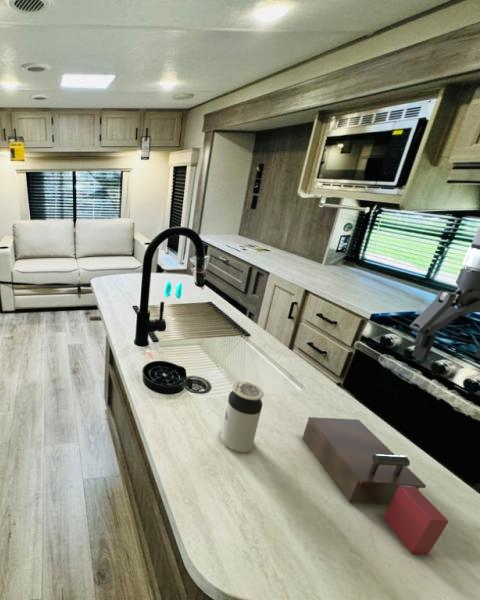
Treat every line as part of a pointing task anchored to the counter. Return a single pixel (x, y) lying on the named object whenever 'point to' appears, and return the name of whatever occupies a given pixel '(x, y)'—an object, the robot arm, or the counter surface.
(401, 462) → the lid
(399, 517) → the red rectangular brick
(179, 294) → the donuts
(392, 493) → the chest
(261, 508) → the counter surface
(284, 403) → the counter surface
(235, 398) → the travel mug
